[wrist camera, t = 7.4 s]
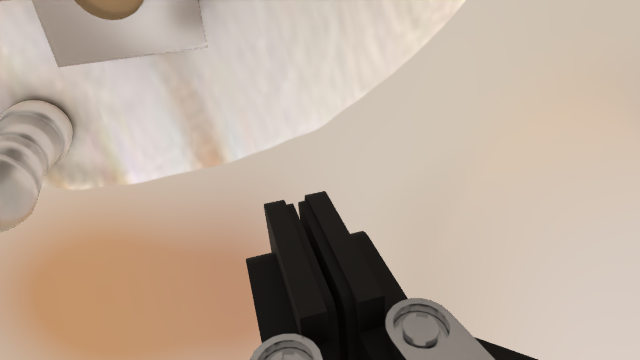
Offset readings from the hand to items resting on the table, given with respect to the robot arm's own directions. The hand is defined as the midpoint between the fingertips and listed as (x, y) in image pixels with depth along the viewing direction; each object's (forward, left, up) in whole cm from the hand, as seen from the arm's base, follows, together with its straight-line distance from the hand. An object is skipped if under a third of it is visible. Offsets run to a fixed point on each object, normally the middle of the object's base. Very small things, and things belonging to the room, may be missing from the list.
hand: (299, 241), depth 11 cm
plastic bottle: (+20, +8, -39) cm, 45 cm away
